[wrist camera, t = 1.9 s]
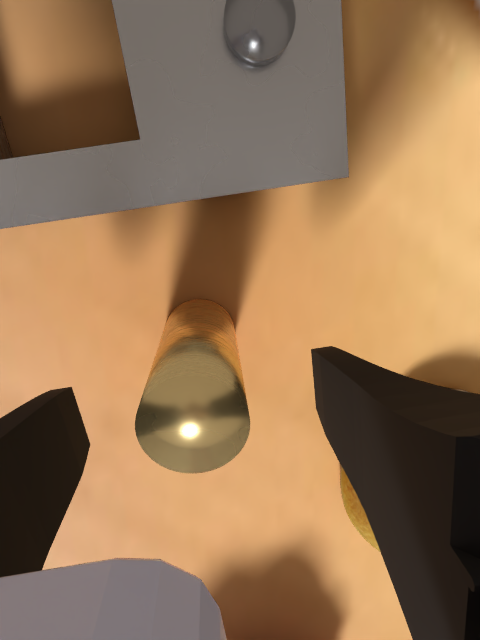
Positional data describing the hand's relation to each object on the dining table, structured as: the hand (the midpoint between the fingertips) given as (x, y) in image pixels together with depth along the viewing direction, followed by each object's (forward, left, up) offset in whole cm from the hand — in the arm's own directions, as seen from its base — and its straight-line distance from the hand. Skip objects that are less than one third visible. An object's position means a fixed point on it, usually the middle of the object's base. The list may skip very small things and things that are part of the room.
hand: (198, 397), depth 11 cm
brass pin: (0, 0, -6) cm, 6 cm away
